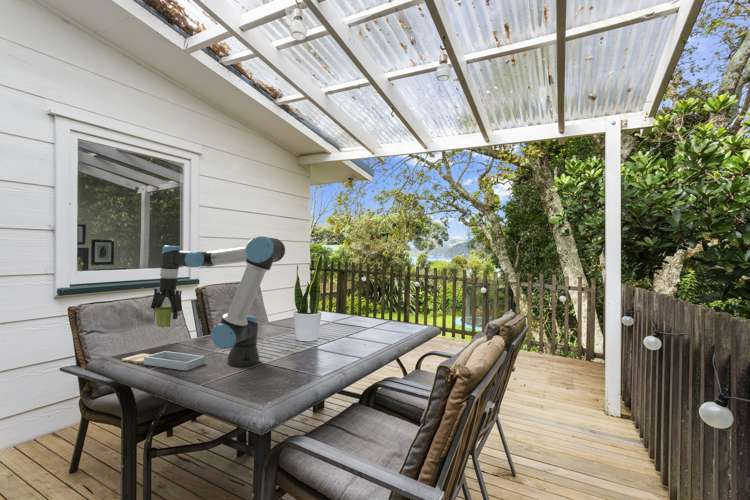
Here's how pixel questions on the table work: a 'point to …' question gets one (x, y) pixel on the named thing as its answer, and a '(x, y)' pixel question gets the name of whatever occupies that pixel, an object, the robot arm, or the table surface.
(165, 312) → the plant pot
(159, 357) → the pale blue tray
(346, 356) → the table surface
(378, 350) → the table surface
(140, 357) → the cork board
